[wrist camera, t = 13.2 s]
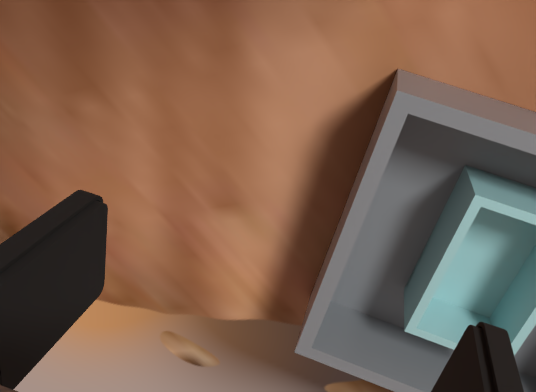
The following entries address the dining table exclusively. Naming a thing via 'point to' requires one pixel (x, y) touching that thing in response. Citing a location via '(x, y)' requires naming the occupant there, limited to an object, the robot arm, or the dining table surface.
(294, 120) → the dining table surface
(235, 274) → the dining table surface
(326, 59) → the dining table surface
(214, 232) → the dining table surface
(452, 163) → the large crate
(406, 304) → the small crate
